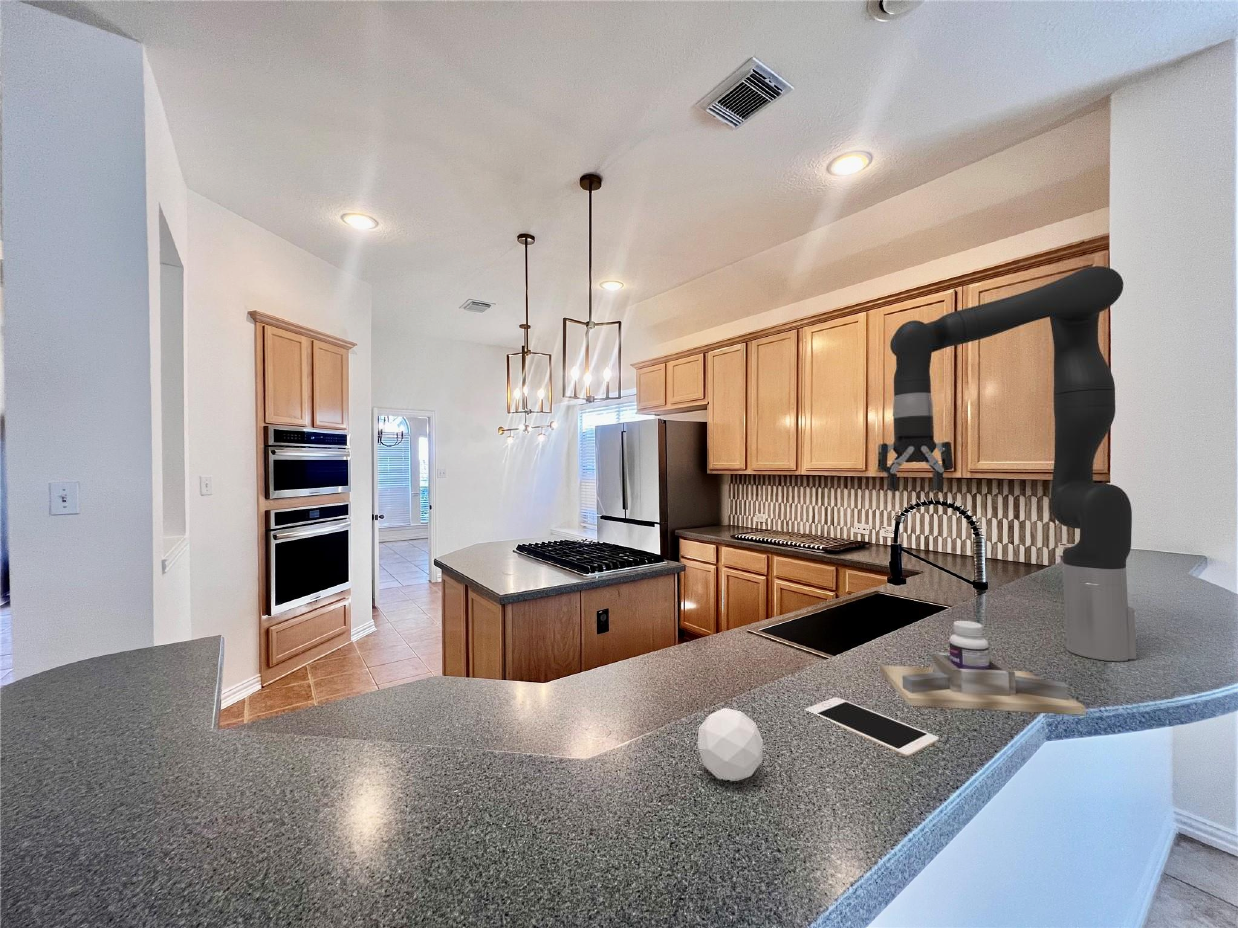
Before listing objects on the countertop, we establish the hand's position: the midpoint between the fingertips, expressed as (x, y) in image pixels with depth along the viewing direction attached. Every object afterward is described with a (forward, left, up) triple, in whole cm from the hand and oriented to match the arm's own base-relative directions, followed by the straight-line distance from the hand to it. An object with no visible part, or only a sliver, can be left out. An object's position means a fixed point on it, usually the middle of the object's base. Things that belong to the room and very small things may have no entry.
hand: (915, 490), depth 113 cm
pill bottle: (+2, +27, -31) cm, 41 cm away
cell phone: (+22, +41, -33) cm, 57 cm away
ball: (+42, +57, -32) cm, 78 cm away
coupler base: (+2, +27, -32) cm, 42 cm away
